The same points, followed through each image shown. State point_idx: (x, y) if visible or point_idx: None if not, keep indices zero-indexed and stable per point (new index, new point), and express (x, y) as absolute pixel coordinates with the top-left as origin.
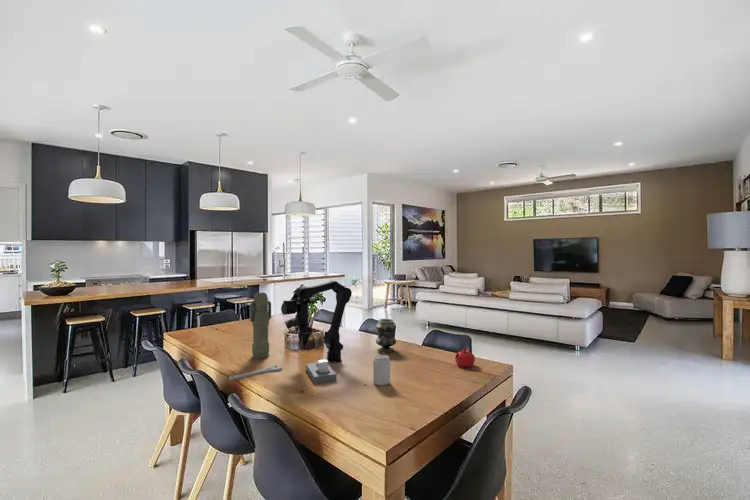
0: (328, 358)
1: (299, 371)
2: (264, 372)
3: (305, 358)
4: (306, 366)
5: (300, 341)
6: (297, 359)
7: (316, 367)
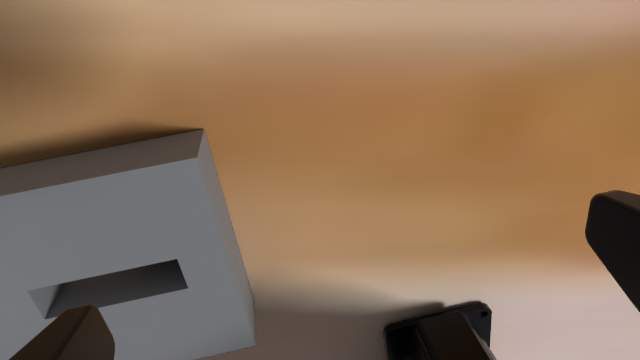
0: (425, 335)
1: (156, 52)
2: None
3: (612, 115)
4: (173, 152)
5: (596, 208)
6: (623, 24)
7: (37, 275)
